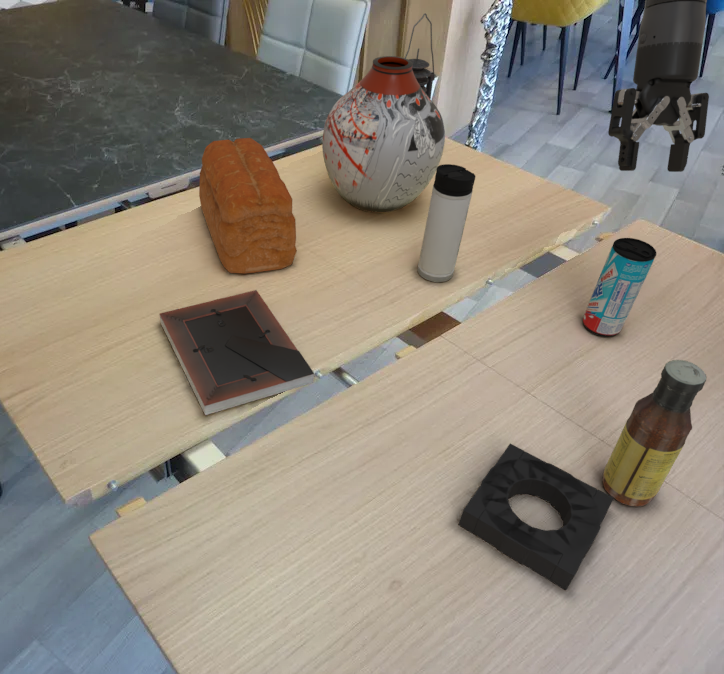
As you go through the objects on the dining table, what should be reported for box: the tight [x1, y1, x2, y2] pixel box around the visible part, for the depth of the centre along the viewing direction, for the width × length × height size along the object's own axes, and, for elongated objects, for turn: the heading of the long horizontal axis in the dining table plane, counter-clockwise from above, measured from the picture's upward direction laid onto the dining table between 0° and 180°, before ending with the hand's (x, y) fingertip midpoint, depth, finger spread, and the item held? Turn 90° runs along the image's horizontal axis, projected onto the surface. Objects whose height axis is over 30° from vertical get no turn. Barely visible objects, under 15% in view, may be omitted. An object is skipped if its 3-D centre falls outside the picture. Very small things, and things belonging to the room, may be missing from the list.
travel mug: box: [417, 163, 476, 283], centre depth 112 cm, size 6×7×20 cm
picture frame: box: [158, 289, 315, 416], centre depth 100 cm, size 16×2×22 cm
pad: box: [458, 443, 615, 591], centre depth 79 cm, size 13×13×3 cm
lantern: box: [404, 13, 436, 100], centre depth 146 cm, size 12×11×30 cm
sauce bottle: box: [602, 359, 707, 508], centre depth 77 cm, size 6×6×20 cm
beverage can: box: [582, 237, 657, 338], centre depth 103 cm, size 6×6×15 cm
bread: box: [198, 137, 298, 275], centre depth 122 cm, size 14×27×15 cm, turn 15°
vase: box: [321, 55, 446, 214], centre depth 128 cm, size 23×23×28 cm
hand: (651, 171), depth 92 cm, fingers open, 8 cm apart
